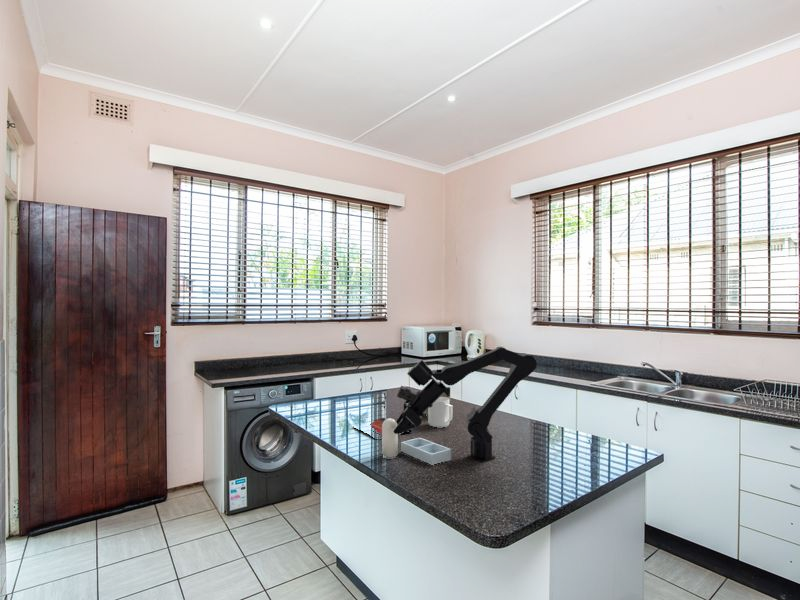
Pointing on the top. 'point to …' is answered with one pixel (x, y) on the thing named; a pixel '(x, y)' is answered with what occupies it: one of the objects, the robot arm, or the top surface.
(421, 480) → the top surface
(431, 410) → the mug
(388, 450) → the cream rounded cylinder
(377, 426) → the binder
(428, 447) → the divided tray
